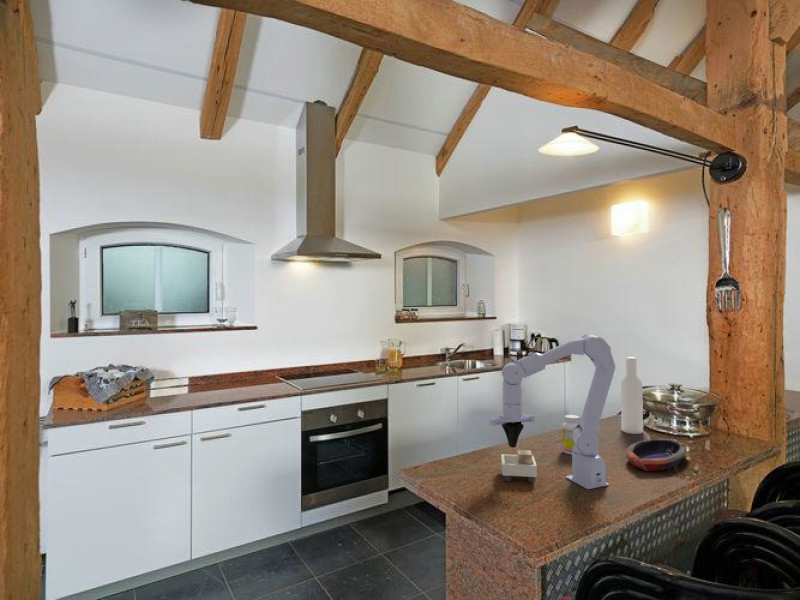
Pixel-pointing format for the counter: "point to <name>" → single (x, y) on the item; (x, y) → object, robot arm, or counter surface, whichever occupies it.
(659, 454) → the dish
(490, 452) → the counter surface
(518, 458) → the block
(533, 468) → the white open storage bin
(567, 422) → the supplement bottle
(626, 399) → the bottle
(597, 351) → the robot arm
